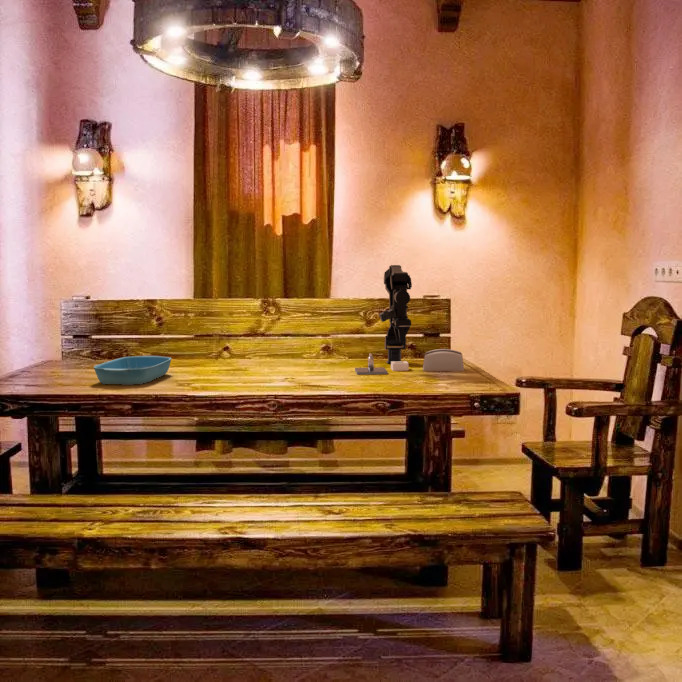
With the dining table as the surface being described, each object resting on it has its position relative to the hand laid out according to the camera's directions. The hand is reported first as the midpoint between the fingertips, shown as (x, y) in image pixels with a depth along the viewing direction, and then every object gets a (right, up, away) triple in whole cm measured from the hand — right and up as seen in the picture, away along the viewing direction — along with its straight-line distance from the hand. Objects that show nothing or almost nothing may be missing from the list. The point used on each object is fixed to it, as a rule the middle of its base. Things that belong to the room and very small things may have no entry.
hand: (399, 341), depth 298 cm
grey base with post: (-12, -12, -5) cm, 18 cm away
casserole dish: (-103, -15, -18) cm, 106 cm away
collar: (0, -12, +1) cm, 12 cm away
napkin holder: (+18, -12, -2) cm, 21 cm away
